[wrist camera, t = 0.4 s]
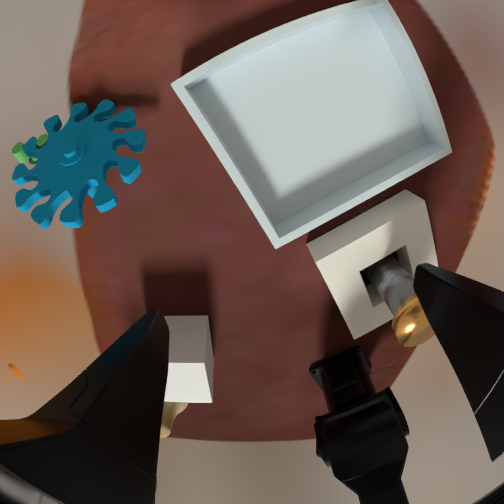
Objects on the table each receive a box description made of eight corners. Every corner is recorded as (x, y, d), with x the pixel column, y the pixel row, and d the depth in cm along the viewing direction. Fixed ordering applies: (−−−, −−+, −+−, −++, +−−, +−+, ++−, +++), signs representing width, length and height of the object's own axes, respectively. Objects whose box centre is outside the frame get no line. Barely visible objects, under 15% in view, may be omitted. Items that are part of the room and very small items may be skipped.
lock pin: (399, 266, 25) (449, 325, 17) (361, 288, 26) (401, 355, 18) (388, 230, 23) (446, 286, 16) (347, 253, 24) (392, 320, 16)
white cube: (208, 314, 26) (204, 362, 21) (213, 356, 29) (212, 402, 24) (146, 314, 26) (132, 361, 21) (159, 356, 29) (150, 400, 24)
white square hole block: (425, 272, 26) (440, 288, 23) (344, 319, 28) (354, 339, 25) (405, 189, 22) (424, 200, 19) (305, 244, 24) (315, 262, 21)
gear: (170, 104, 16) (95, 243, 13) (174, 156, 22) (123, 271, 19) (51, 88, 16) (-21, 196, 12) (70, 132, 21) (17, 228, 18)
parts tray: (430, 145, 20) (452, 152, 17) (270, 231, 23) (275, 249, 20) (366, 5, 14) (384, -6, 12) (179, 87, 17) (170, 84, 15)
